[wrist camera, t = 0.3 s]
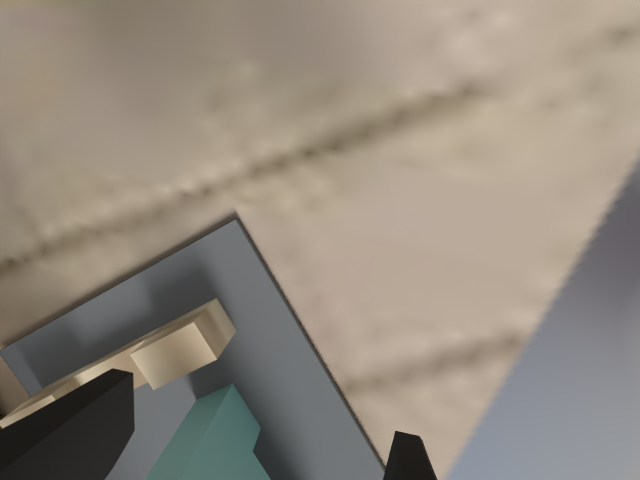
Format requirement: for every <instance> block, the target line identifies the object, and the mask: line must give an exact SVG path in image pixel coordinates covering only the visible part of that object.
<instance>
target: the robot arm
mask: <svg viewBox="0 0 640 480" xmlns="http://www.w3.org/2000/svg"><path fill="white" fill-rule="evenodd" d="M134 431H135V422H134V378H133V373H132V372H128V371H123V370H119V369H114V368H112V369H110V370H108V371H106V372H104V373H103V374H101V375H99V376H97V377H95V378H94V379H92V380H90V381H88V382H87V383H85V384H83V385H81V386H80V387H78V388H76V389H74V390H73V391H71V392H69V393H67V394H66V395H64V396H62V397H60V398H58V399H57V400H55V401H53V402H51V403H49V404H48V405H46V406H44V407H42V408H40V409H39V410H37V411H35V412H33V413H31V414H30V415H28V416H26V417H24V418H22V419H20V420H18V421H16V422H14V423H12V424H10V425H8V426H6V427H4V428H2V429H0V480H105V478H106V477H107V476H108V474H109V473H110V471H111V470H112V469H113V467H114V466H115V464H116V462H117V461H118V459H119V457H120V456H121V454H122V452H123V450H124V449H125V447H126V445H127V443H128V442H129V440H130V438H131V436H132V434H133V433H134ZM383 480H437V478H436V475H435V473H434V470H433V468H432V465H431V463H430V460H429V458H428V455H427V452H426V450H425V447H424V444H423V441H422V439H421V438H420V437H419V436H416V435H412V434H407V433H403V432H398V431H395V435H394V439H393V442H392V446H391V450H390V454H389V458H388V462H387V465H386V469H385V473H384V477H383Z"/></svg>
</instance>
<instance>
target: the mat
mask: <svg viewBox="0 0 640 480" xmlns="http://www.w3.org/2000/svg"><path fill="white" fill-rule="evenodd" d="M215 298H217V299H218V301H219V303H220V304H221V306H222V307H223V309H224V311H225V312H226V314H227V316H228V317H229V319H230V320H231V322H232V324H233V325H234V327H235V329H236V330H237V331H236V332H235V334H234V335H233V337H232V338H231V340H230V341H229V343H228V344H227V346H226V347H225V348H224V350H223V351H222V353H221V354H220V356H219V357H218V359H217V360H215V361H213V362H211V363H209V364H206V365H204V366H202V367H200V368H198V369H196V370H194V371H192V372H190V373H188V374H186V375H184V376H182V377H180V378H178V379H175V380H173V381H171V382H169V383H167V384H165V385H163V386H161V387H159V388H157V389H155V390H153V389H152V387H151V386H150V384H149V383H145V384H143V385H141V386H139V387H137V388H135V389H134V422H135V431H134V433H133V434H132V436H131V438H130V440H129V442H128V443H127V445H126V447H125V449H124V450H123V452H122V454H121V456H120V457H119V459H118V461H117V462H116V464H115V466H114V467H113V469H112V470H111V471H110V473H109V474H108V476H107V477H106V478H105V480H144V479H145V478H146V476H147V475H148V473H149V472H150V470H151V469H152V467H153V466H154V464H155V463H156V461H157V460H158V458H159V457H160V455H161V453H162V452H163V450H164V449H165V447H166V446H167V444H168V443H169V441H170V440H171V438H172V437H173V435H174V434H175V432H176V430H177V429H178V427H179V426H180V424H181V423H182V421H183V420H184V418H185V417H186V415H187V414H188V412H189V411H190V409H191V407H192V406H193V404H194V403H195V401H196V400H198V399H200V398H202V397H204V396H206V395H209V394H211V393H213V392H215V391H217V390H219V389H221V388H224V387H226V386H228V385H230V384H232V383H233V384H234V386H235V388H236V389H237V391H238V392H239V394H240V396H241V397H242V399H243V400H244V402H245V403H246V405H247V407H248V408H249V410H250V411H251V413H252V415H253V416H254V418H255V419H256V421H257V422H258V424H259V426H260V427H261V429H260V432H259V435H258V438H257V440H256V443H255V446H254V449H253V453H254V454H255V456H256V458H257V459H258V461H259V462H260V464H261V465H262V467H263V468H264V470H265V472H266V473H267V475H268V476H269V478H270V479H271V480H383V477H384V473H385V468H384V466H383V464H382V463H381V461H380V459H379V457H378V456H377V454H376V452H375V451H374V449H373V447H372V446H371V444H370V442H369V440H368V439H367V437H366V435H365V434H364V432H363V430H362V429H361V427H360V425H359V423H358V422H357V420H356V418H355V417H354V415H353V413H352V412H351V410H350V408H349V406H348V405H347V403H346V401H345V400H344V398H343V396H342V395H341V393H340V391H339V389H338V388H337V386H336V384H335V383H334V381H333V379H332V378H331V376H330V374H329V372H328V371H327V369H326V367H325V366H324V364H323V362H322V361H321V359H320V357H319V355H318V354H317V352H316V350H315V349H314V347H313V345H312V344H311V342H310V340H309V338H308V337H307V335H306V333H305V332H304V330H303V328H302V327H301V325H300V323H299V321H298V320H297V318H296V316H295V315H294V313H293V311H292V310H291V308H290V306H289V304H288V303H287V301H286V299H285V298H284V296H283V294H282V293H281V291H280V289H279V287H278V286H277V284H276V282H275V281H274V279H273V277H272V276H271V274H270V272H269V270H268V269H267V267H266V265H265V264H264V262H263V260H262V259H261V257H260V255H259V253H258V252H257V250H256V248H255V247H254V245H253V243H252V242H251V240H250V238H249V236H248V235H247V233H246V231H245V230H244V228H243V226H242V225H241V223H240V221H239V219H238V218H237V219H235V220H233V221H232V222H230V223H228V224H226V225H224V226H223V227H221V228H219V229H217V230H215V231H214V232H212V233H210V234H208V235H206V236H205V237H203V238H201V239H199V240H197V241H196V242H194V243H192V244H190V245H188V246H187V247H185V248H183V249H181V250H179V251H178V252H176V253H174V254H172V255H170V256H169V257H167V258H165V259H163V260H162V261H160V262H158V263H156V264H154V265H153V266H151V267H149V268H147V269H145V270H144V271H142V272H140V273H138V274H136V275H135V276H133V277H131V278H129V279H127V280H126V281H124V282H122V283H120V284H118V285H117V286H115V287H113V288H111V289H109V290H108V291H106V292H104V293H102V294H100V295H99V296H97V297H95V298H93V299H92V300H90V301H88V302H86V303H84V304H83V305H81V306H79V307H77V308H75V309H74V310H72V311H70V312H68V313H66V314H65V315H63V316H61V317H59V318H57V319H56V320H54V321H52V322H50V323H48V324H47V325H45V326H43V327H41V328H39V329H38V330H36V331H34V332H32V333H31V334H29V335H27V336H25V337H23V338H22V339H20V340H18V341H16V342H14V343H13V344H11V345H9V346H7V347H5V348H4V349H2V350H0V355H1V356H2V358H3V359H4V361H5V362H6V363H7V365H8V366H9V368H10V369H11V370H12V372H13V373H14V374H15V376H16V377H17V379H18V380H19V381H20V383H21V384H22V385H23V387H24V388H25V390H26V391H27V392H28V394H29V395H30V397H32V396H33V395H34V394H36V393H37V392H38V391H39V390H41V389H42V388H44V387H46V386H48V385H50V384H52V383H53V382H55V381H57V380H59V379H61V378H63V377H65V376H67V375H69V374H71V373H73V372H75V371H77V370H79V369H80V368H82V367H84V366H86V365H88V364H90V363H92V362H94V361H96V360H98V359H100V358H102V357H104V356H106V355H107V354H109V353H111V352H113V351H115V350H117V349H119V348H121V347H123V346H125V345H127V344H129V343H131V342H133V341H134V340H136V339H138V338H140V337H142V336H144V335H146V334H148V333H150V332H152V331H154V330H156V329H158V328H160V327H161V326H163V325H165V324H167V323H169V322H171V321H173V320H175V319H177V318H179V317H181V316H183V315H185V314H187V313H188V312H190V311H192V310H194V309H196V308H198V307H200V306H202V305H204V304H206V303H208V302H210V301H212V300H214V299H215Z"/></svg>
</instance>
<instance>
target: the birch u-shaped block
mask: <svg viewBox="0 0 640 480" xmlns="http://www.w3.org/2000/svg"><path fill="white" fill-rule="evenodd" d="M236 331H237V330H236V329H235V327H234V325H233V324H232V322H231V320H230V319H229V317H228V316H227V314H226V312H225V311H224V309H223V307H222V306H221V304H220V303H219V301H218V299H217V298H215V299H214V300H212V301H210V302H208V303H206V304H204V305H202V306H200V307H198V308H196V309H194V310H192V311H190V312H188V313H187V314H185V315H183V316H181V317H179V318H177V319H175V320H173V321H171V322H169V323H167V324H165V325H163V326H161V327H160V328H158V329H156V330H154V331H152V332H150V333H148V334H146V335H144V336H142V337H140V338H138V339H136V340H134V341H133V342H131V343H129V344H127V345H125V346H123V347H121V348H119V349H117V350H115V351H113V352H111V353H109V354H107V355H106V356H104V357H102V358H100V359H98V360H96V361H94V362H92V363H90V364H88V365H86V366H84V367H82V368H80V369H79V370H77V371H75V372H73V373H71V374H69V375H67V376H65V377H63V378H61V379H59V380H57V381H55V382H53V383H52V384H50V385H48V386H46V387H44V388H42V389H41V390H39V391H38V392H37V393H36V394H34V395H33V396H32V397H30V398H29V399H28V400H26V401H25V402H24V403H22V404H21V405H20V406H19V407H17V408H16V409H15V410H13V411H12V412H11V413H9V414H8V415H7V416H5V417H4V418H3V419H1V420H0V426H1V427H2V428H4V427H6V426H8V425H10V424H12V423H14V422H16V421H18V420H20V419H22V418H24V417H26V416H28V415H30V414H31V413H33V412H35V411H37V410H39V409H40V408H42V407H44V406H46V405H48V404H49V403H51V402H53V401H55V400H57V399H58V398H60V397H62V396H64V395H66V394H67V393H69V392H71V391H73V390H74V389H76V388H78V387H80V386H81V385H83V384H85V383H87V382H88V381H90V380H92V379H94V378H95V377H97V376H99V375H101V374H103V373H104V372H106V371H108V370H110V369H112V368H114V369H119V370H123V371H128V372H132V373H133V378H134V389H135V388H137V387H139V386H141V385H143V384H145V383H149V384H150V386H151V387H152V389H153V390H155V389H157V388H159V387H161V386H163V385H165V384H167V383H169V382H171V381H173V380H175V379H178V378H180V377H182V376H184V375H186V374H188V373H190V372H192V371H194V370H196V369H198V368H200V367H202V366H204V365H206V364H209V363H211V362H213V361H215V360H217V359H218V357H219V356H220V354H221V353H222V351H223V350H224V348H225V347H226V346H227V344H228V343H229V341H230V340H231V338H232V337H233V335H234V334H235V332H236Z"/></svg>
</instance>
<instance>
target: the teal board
mask: <svg viewBox="0 0 640 480" xmlns="http://www.w3.org/2000/svg"><path fill="white" fill-rule="evenodd" d="M260 429H261V427H260V426H259V424H258V422H257V421H256V419H255V418H254V416H253V415H252V413H251V411H250V410H249V408H248V407H247V405H246V403H245V402H244V400H243V399H242V397H241V396H240V394H239V392H238V391H237V389H236V388H235V386H234V384H233V383H232V384H230V385H228V386H226V387H224V388H221V389H219V390H217V391H215V392H213V393H211V394H209V395H206V396H204V397H202V398H200V399H198V400H196V401H195V403H194V404H193V406H192V407H191V409H190V411H189V412H188V414H187V415H186V417H185V418H184V420H183V421H182V423H181V424H180V426H179V427H178V429H177V430H176V432H175V434H174V435H173V437H172V438H171V440H170V441H169V443H168V444H167V446H166V447H165V449H164V450H163V452H162V453H161V455H160V457H159V458H158V460H157V461H156V463H155V464H154V466H153V467H152V469H151V470H150V472H149V473H148V475H147V476H146V478H145V479H144V480H271V479H270V478H269V476H268V475H267V473H266V472H265V470H264V468H263V467H262V465H261V464H260V462H259V461H258V459H257V458H256V456H255V454H254V453H253V449H254V446H255V443H256V440H257V438H258V435H259V432H260Z"/></svg>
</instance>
